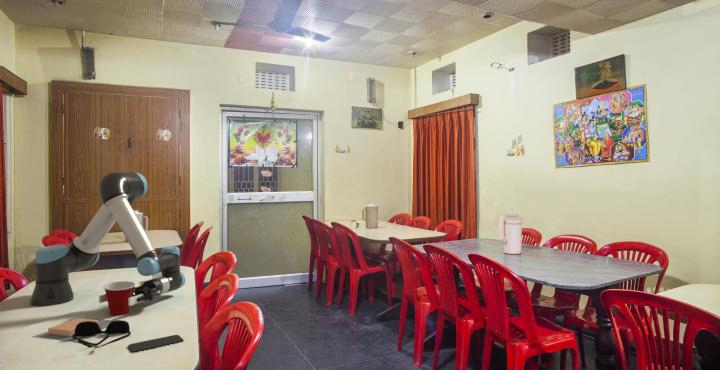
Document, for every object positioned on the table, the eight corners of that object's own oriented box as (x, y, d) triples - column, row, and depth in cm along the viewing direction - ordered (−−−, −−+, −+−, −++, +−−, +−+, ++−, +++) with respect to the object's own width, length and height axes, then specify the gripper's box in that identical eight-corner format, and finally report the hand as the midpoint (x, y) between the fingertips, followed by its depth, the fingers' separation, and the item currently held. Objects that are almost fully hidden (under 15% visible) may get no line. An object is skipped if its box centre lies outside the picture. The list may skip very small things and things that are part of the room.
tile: (78, 324, 151) (48, 335, 140) (78, 318, 151) (48, 328, 140) (98, 326, 149) (69, 337, 138) (98, 320, 149) (69, 330, 138)
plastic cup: (110, 321, 156) (110, 289, 156) (98, 316, 163) (98, 284, 163) (140, 314, 165) (140, 283, 164) (128, 309, 171) (128, 279, 171)
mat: (32, 339, 139) (32, 336, 139) (86, 320, 158) (86, 318, 158) (70, 343, 134) (70, 341, 134) (121, 323, 154) (121, 321, 154)
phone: (184, 340, 136) (132, 351, 127) (184, 343, 136) (132, 354, 127) (177, 334, 142) (127, 344, 133) (177, 336, 142) (127, 347, 133)
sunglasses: (57, 354, 125) (58, 338, 125) (74, 336, 139) (74, 320, 139) (121, 351, 130) (122, 335, 130) (131, 333, 144) (132, 318, 144)
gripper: (180, 298, 178) (142, 313, 157) (131, 294, 184) (87, 308, 164) (180, 280, 178) (141, 292, 157) (130, 277, 184) (87, 288, 164)
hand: (114, 300), depth 160 cm, fingers open, 13 cm apart
